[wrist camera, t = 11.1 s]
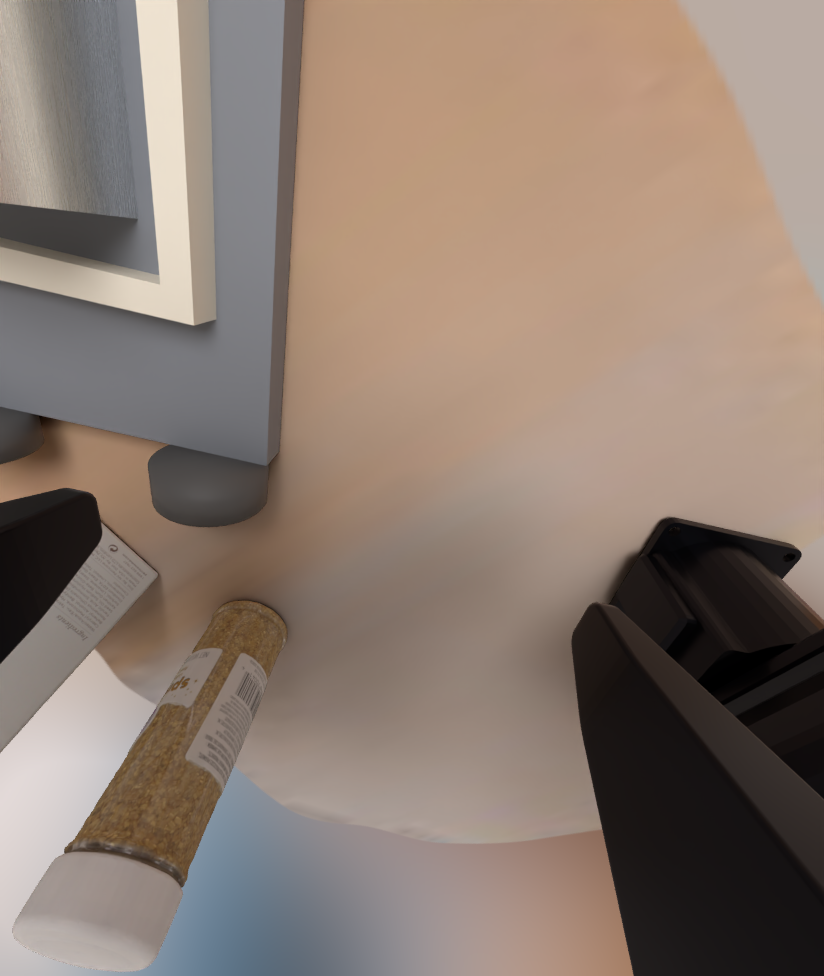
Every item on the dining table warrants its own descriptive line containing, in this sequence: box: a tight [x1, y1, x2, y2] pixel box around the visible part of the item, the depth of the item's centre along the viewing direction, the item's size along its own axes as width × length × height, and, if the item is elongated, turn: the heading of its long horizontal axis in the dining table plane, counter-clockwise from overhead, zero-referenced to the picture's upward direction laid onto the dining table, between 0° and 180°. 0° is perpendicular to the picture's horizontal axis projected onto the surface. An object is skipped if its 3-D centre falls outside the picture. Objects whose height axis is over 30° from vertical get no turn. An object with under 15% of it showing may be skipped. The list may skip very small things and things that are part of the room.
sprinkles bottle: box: [12, 601, 287, 972], centre depth 19 cm, size 5×5×13 cm
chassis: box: [0, 0, 304, 527], centre depth 11 cm, size 14×25×4 cm, turn 168°
